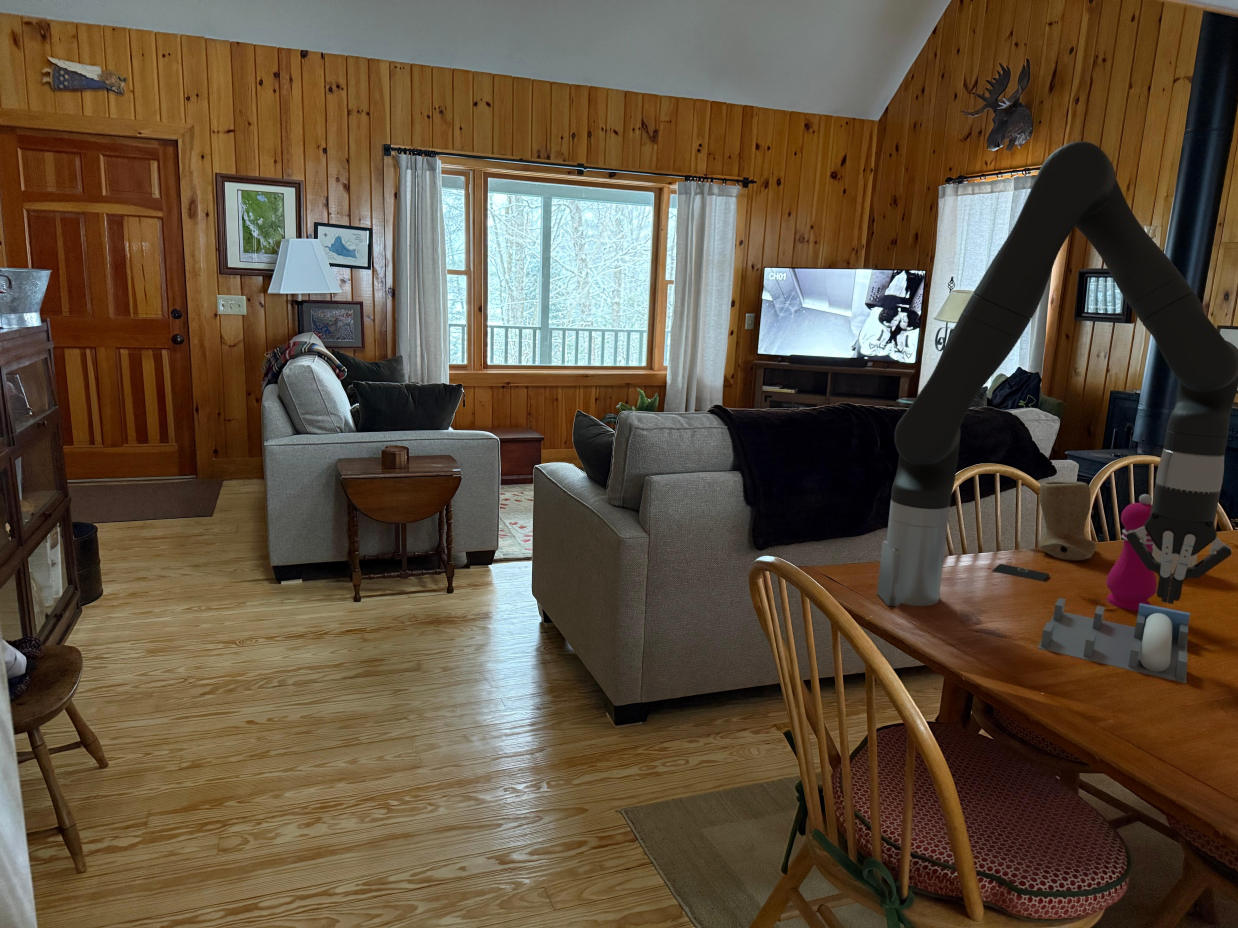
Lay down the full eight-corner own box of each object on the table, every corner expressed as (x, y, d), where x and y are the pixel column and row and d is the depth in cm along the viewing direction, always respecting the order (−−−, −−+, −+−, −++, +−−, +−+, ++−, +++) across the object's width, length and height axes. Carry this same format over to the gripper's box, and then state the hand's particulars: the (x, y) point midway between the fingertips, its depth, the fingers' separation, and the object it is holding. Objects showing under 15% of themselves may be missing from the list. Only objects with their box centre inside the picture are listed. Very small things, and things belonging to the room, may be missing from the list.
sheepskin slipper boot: (1037, 538, 183) (1046, 472, 180) (1098, 549, 176) (1109, 480, 173) (1023, 554, 171) (1033, 483, 168) (1089, 566, 164) (1100, 492, 161)
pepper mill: (1159, 619, 137) (1180, 501, 133) (1111, 614, 138) (1130, 497, 134) (1142, 603, 144) (1161, 491, 140) (1096, 599, 145) (1114, 487, 141)
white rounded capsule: (1171, 672, 113) (1169, 647, 113) (1140, 670, 115) (1138, 645, 115) (1173, 636, 126) (1171, 613, 126) (1146, 634, 128) (1144, 612, 128)
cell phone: (1049, 578, 157) (1049, 573, 157) (1026, 603, 143) (1026, 598, 143) (999, 567, 163) (1000, 563, 162) (972, 590, 149) (973, 585, 148)
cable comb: (1185, 689, 111) (1191, 654, 110) (1036, 654, 121) (1041, 621, 120) (1186, 644, 127) (1191, 613, 126) (1054, 616, 137) (1059, 587, 136)
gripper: (1130, 480, 116) (1112, 598, 120) (1248, 495, 109) (1224, 620, 112) (1134, 472, 122) (1116, 584, 126) (1245, 486, 115) (1223, 605, 119)
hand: (1167, 601), depth 119 cm, fingers closed
